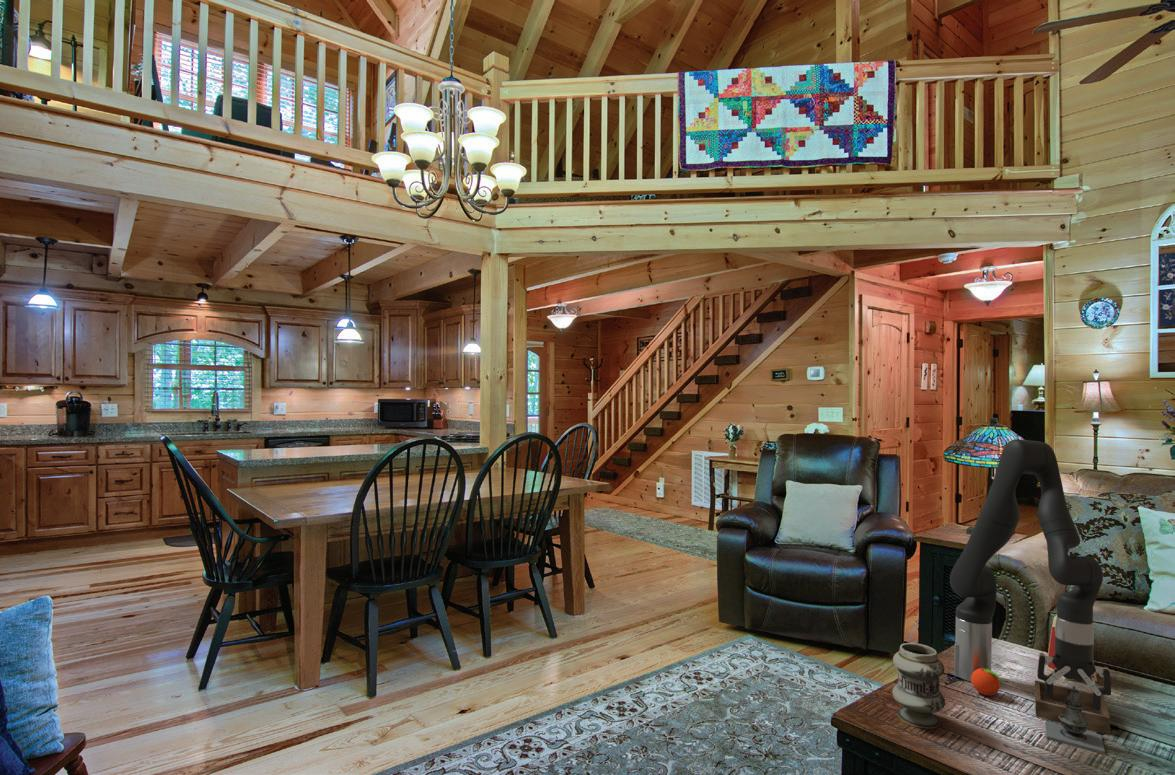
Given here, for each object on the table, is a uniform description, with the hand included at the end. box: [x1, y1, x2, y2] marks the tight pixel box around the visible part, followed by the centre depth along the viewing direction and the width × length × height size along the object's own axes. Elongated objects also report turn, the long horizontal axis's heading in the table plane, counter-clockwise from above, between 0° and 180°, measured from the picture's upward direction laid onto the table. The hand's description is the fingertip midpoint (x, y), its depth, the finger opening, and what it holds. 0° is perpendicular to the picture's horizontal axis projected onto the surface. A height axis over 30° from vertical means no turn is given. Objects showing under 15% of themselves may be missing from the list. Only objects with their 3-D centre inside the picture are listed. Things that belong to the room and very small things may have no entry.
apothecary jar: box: [892, 642, 946, 729], centre depth 162 cm, size 12×12×18 cm
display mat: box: [1045, 720, 1106, 755], centre depth 154 cm, size 11×9×1 cm
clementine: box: [971, 668, 1003, 696], centre depth 176 cm, size 8×7×7 cm
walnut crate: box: [1034, 680, 1111, 735], centre depth 166 cm, size 15×15×4 cm
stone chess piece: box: [1059, 685, 1089, 741], centre depth 154 cm, size 6×6×12 cm
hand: (1072, 703), depth 154 cm, fingers open, 8 cm apart
